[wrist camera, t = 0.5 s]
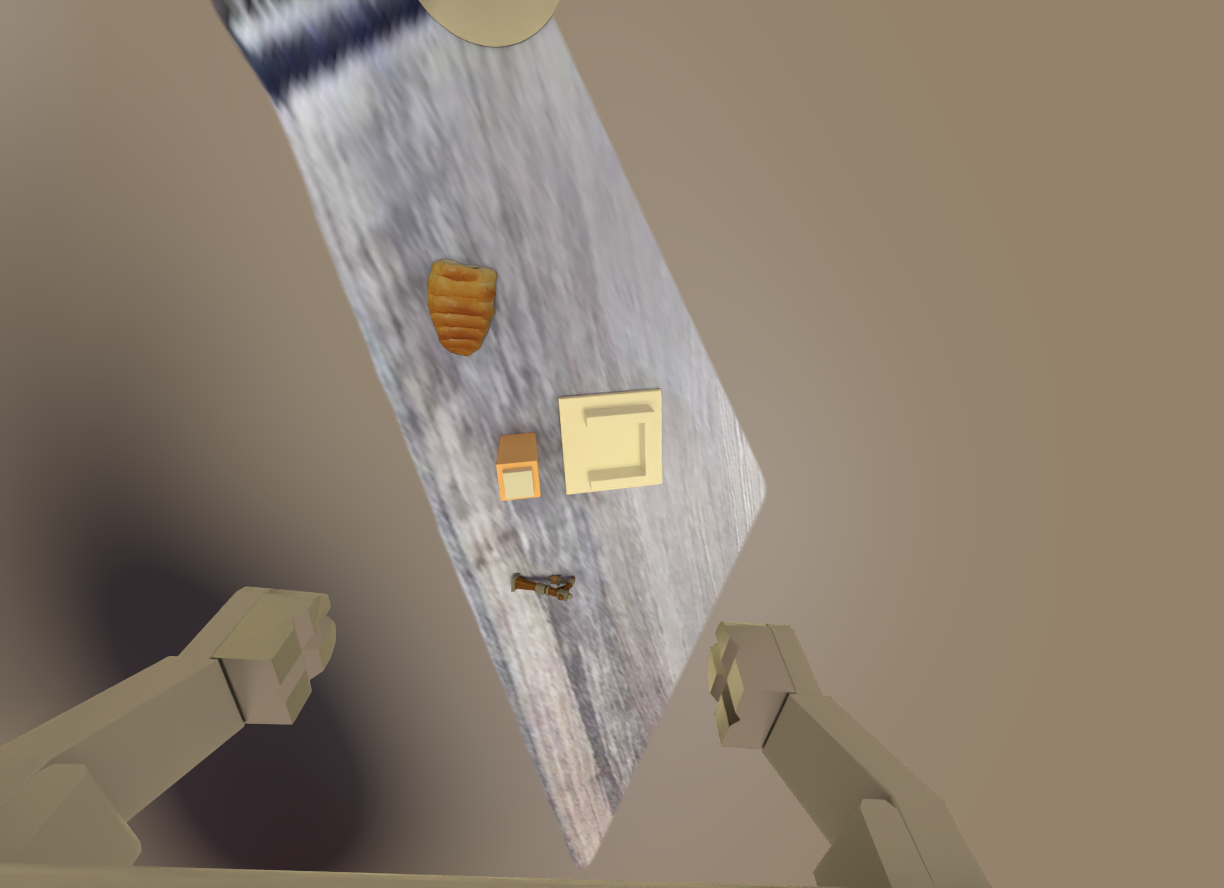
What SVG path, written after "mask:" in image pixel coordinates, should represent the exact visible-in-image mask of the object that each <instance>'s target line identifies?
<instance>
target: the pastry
mask: <svg viewBox="0 0 1224 888" xmlns="http://www.w3.org/2000/svg"><path fill="white" fill-rule="evenodd" d="M496 279H497V275H496V273H495V272H494V270H493V269H490V268H486V267H480V266H476V265H461V264H459V263H458V262H456V261H454V260H447V259H441V260H438V261H436V262H434V263H433V265H432V270H431V273H430V275H429V277H428V281H427V290H428V307H429V310H430V316H431V318H432V321H433V325H434V327H435V329H436V331H437V333H438V337H439V341H440V343H441V344H442V345H443V346H444V347H445V348H446V349H447V350H448V351H450V352H451V353H455V354H459V355H462V356H469V355H471V354H472V353H474V352H475V351H477V350H478V349H479V348H480V347H481V344H482V341H483V339H484V337H485V335H486V334H487V332H488V329H489V325H490V322H491V319H492V317H493V316H494V314H495V308H494V299H495V298H494V296H495V282H496Z"/></svg>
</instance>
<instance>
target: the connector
mask: <svg viewBox="0 0 1224 888" xmlns="http://www.w3.org/2000/svg"><path fill="white" fill-rule="evenodd" d="M496 468H497V475H498V482H499V489H500V496H501V501H506V500H514V499H523V498H532V497H541V494H540V477H539V462H538V453H537V443H536V434H535V432H533V433H523V434H512V435H502V436H501V437H500V443H499V450H498V456H497V462H496Z"/></svg>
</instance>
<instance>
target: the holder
mask: <svg viewBox="0 0 1224 888" xmlns="http://www.w3.org/2000/svg"><path fill="white" fill-rule="evenodd" d="M558 402H559V414H560V425H561V437H562V449H563V460H564V472H565V484H566V493H567V494H576V493H584V492H593V491H602V490H611V489H620V488H629V487H638V486H646V485H655V484H662V413H661V390H660V389H649V390H638V391H626V392H614V393H602V394H590V395H578V396H566V397H558Z"/></svg>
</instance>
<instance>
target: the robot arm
mask: <svg viewBox="0 0 1224 888" xmlns="http://www.w3.org/2000/svg"><path fill="white" fill-rule="evenodd" d="M419 1H420V3H421V4H422V5H423V7H424V8H425V9H426V10H427V11H428V13H429V14H430V15H431V16H432V17H433V18H434V19H435V20H436V21H437V22H438V23H440V24H441V25H442V26H443V27H444V28H446V29H447V30H449V31H450V32H451V33H453V34H455V35H456V36H458V37H460V38H462V39H464V40H467V41H469V42H472V43H475V44H479V45H483V46H492V47H500V46H508V45H512V44H516V43H519V42H521V41H523V40H525V39H527V38H529V37H531V36H532V35H534V34H535V33H536V32H537V31H539V30H540V29H541V28H542V27H543V26H544V25H545V24H546V22H547V21H548V20H549V19H550V17H551V16H552V14H553V13H554V11H555V9H556V8H557V6H558V4H559V2H560V0H419ZM330 607H331V605H330V602H329V598H328V595H326V594H321V593H311V592H301V591H290V590H280V589H267V588H256V587H245V588H243V589H240V590H239V591H237V592H236V593H235V594H234V595H233V596H232V597H231V598H230V599H229V600H228V601H227V603H226V604H225V605H224V606H223V607H222V608H221V609H220V610H219V611H218V613H217V614H216V615H215V616H214V617H213V618H212V619H211V620H210V621H209V623H208V624H207V625H206V626H205V627H204V628H203V629H202V630H201V631H200V633H199V634H198V635H197V636H196V637H195V638H194V639H193V640H192V641H191V642H190V644H189V645H188V646H187V647H186V648H185V649H184V650H183V651H182V652H181V654H180V655H179V656H178V657H173V656H169V657H167V658H165V659H163V660H161V661H159V662H158V663H156V664H154V665H152V666H151V667H148V668H146V669H145V670H143V671H141V672H139V673H137V674H135V675H133V676H132V677H130V678H128V679H126V680H124V681H122V682H120V683H119V684H117V685H115V686H113V687H111V688H109V689H107V690H105V691H104V692H102V693H100V694H98V695H96V696H94V697H92V698H91V699H89V700H87V701H85V702H83V703H81V704H79V705H77V706H76V707H74V708H72V709H70V710H68V711H66V712H64V713H63V714H61V715H59V716H57V717H55V718H53V719H51V720H50V721H48V722H46V723H44V724H42V725H40V726H39V727H37V728H35V729H33V730H31V731H29V732H27V733H25V734H24V735H22V736H20V737H18V738H16V739H14V740H12V741H10V742H9V743H7V744H5V745H3V746H1V747H0V888H992V887H991V886H990V884H989V882H988V880H987V878H986V877H985V875H984V873H983V871H982V869H981V867H980V866H979V864H978V862H977V860H976V858H975V857H974V855H973V853H972V851H971V849H970V847H969V846H968V844H967V842H966V841H965V838H964V837H963V835H962V833H961V831H960V829H959V828H958V826H957V824H956V822H955V821H954V819H953V817H952V815H951V813H950V811H949V810H948V808H947V806H946V804H945V802H944V801H943V800H942V799H941V798H940V797H939V796H938V795H937V794H936V793H935V792H934V791H932V790H931V789H930V788H929V787H928V786H927V785H926V784H925V783H924V782H923V781H922V780H921V779H919V778H918V777H917V776H916V775H915V774H914V773H913V772H912V771H911V770H910V769H908V768H907V767H906V766H905V765H904V764H903V763H902V762H901V761H900V760H899V759H898V758H896V757H895V756H894V755H893V754H892V753H891V752H890V751H889V750H888V749H887V748H886V747H885V746H883V745H882V744H881V743H880V742H879V741H878V740H877V739H876V738H875V737H874V736H872V735H871V734H870V733H869V732H868V731H867V730H866V729H865V728H864V727H863V726H862V725H861V724H860V723H858V722H857V721H856V720H855V719H854V718H853V717H852V716H851V715H850V714H849V713H847V712H846V711H845V710H844V709H843V708H842V707H841V706H840V705H839V704H838V703H837V702H835V701H834V700H833V699H832V698H831V697H830V696H823V695H822V693H821V690H820V688H819V686H818V684H817V681H816V679H815V677H814V674H813V672H812V670H811V668H810V666H809V663H808V661H807V659H806V656H805V654H804V652H803V650H802V647H801V645H800V643H799V640H798V638H797V636H796V634H795V631H794V630H793V629H792V628H791V627H790V626H786V625H771V624H767V625H765V624H759V623H743V622H725V621H721V622H720V623H719V624H718V627H717V629H716V632H715V634H716V638H717V643H716V644H715V645H713V646H712V647H711V648H710V651H709V655H708V660H707V678H708V685H709V690H710V694H711V695H712V696H713V697H714V698H715V699H716V700H717V702H718V705H717V708H716V711H715V718H716V723H717V728H718V732H719V737H720V741H721V746H723V747H736V748H748V749H761V750H763V751H762V752H763V754H764V755H765V757H766V758H767V759H768V761H769V762H770V763H771V765H772V766H773V767H774V769H775V770H776V771H777V773H778V774H779V775H780V777H781V778H782V779H783V781H784V782H785V783H786V785H787V786H788V787H789V789H790V790H791V791H792V793H793V794H794V796H795V797H796V798H797V800H798V801H799V802H800V804H801V805H802V806H803V808H804V809H805V810H806V812H807V813H808V814H809V816H810V817H811V818H812V820H813V821H814V823H815V824H816V825H817V827H818V828H819V829H820V831H821V832H822V833H823V834H824V836H825V837H826V839H827V840H828V841H829V843H830V844H831V845H830V847H829V848H828V850H827V851H826V853H825V854H824V855H823V857H822V859H821V860H820V861H819V863H818V864H817V866H816V868H815V870H814V871H813V873H814V877H815V880H816V883H817V887H816V886H815V887H814V886H782V885H749V884H746V885H745V884H714V883H681V882H648V881H647V882H646V881H614V880H581V879H577V880H576V879H547V878H513V877H480V876H479V877H478V876H445V875H412V874H378V873H344V872H310V871H307V872H306V871H275V870H274V871H273V870H241V869H238V870H237V869H206V868H172V867H139V866H138V867H137V866H132V865H133V863H134V862H135V860H136V859H137V857H138V856H139V854H140V853H141V844H140V841H139V840H138V838H137V837H136V836H135V834H134V833H133V831H132V830H131V829H130V827H129V826H128V825H127V823H126V822H127V821H128V820H130V819H131V818H132V817H133V816H134V815H136V814H137V813H138V812H139V811H141V810H142V809H143V808H144V807H145V806H147V805H148V804H149V803H150V802H151V801H153V800H154V799H155V798H157V797H158V796H159V795H160V794H161V793H163V792H164V791H165V790H166V789H167V788H169V787H170V786H171V785H172V784H174V783H175V782H176V781H177V780H179V779H180V778H181V777H182V776H184V775H185V774H186V773H187V772H188V771H190V770H191V769H192V768H193V767H195V766H196V765H197V764H198V763H199V762H201V761H202V760H203V759H204V758H206V757H207V756H208V755H209V754H211V753H212V752H213V751H214V750H215V749H217V748H218V747H219V746H220V745H222V744H223V743H224V742H225V741H227V740H228V739H229V738H230V737H231V736H233V735H234V734H235V733H236V732H238V731H239V730H240V729H241V728H242V727H244V723H256V724H257V723H258V724H293V722H294V721H295V719H296V717H297V715H298V714H299V712H300V710H301V708H302V707H303V705H304V703H305V701H306V700H307V698H308V696H309V695H310V693H311V686H310V681H309V680H310V679H312V678H313V677H315V676H316V675H317V674H319V673H320V672H322V671H323V670H324V668H325V667H326V665H327V663H328V661H329V659H330V657H331V655H332V651H333V648H334V645H335V640H336V628H335V624H334V621H332V620H331V619H330V618H329V617H328V616H327V615H326V613H327V612H328V610H329V609H330Z"/></svg>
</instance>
